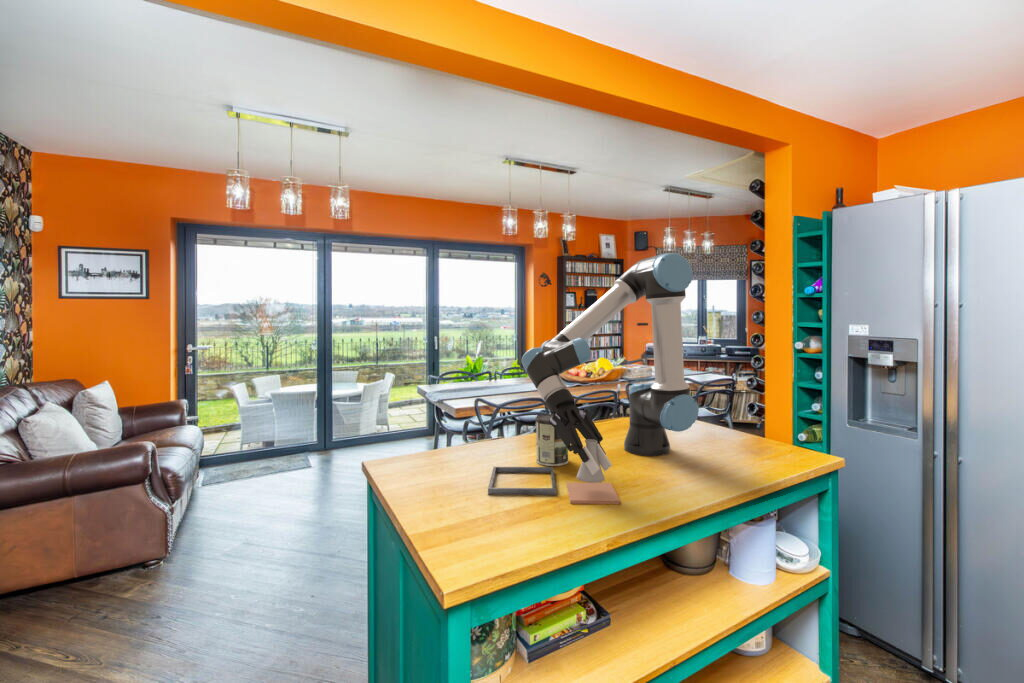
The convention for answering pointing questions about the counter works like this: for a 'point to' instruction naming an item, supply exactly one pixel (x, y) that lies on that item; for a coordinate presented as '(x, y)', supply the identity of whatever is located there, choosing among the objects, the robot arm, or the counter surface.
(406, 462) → the counter surface
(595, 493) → the terracotta tile
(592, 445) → the flask
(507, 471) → the steel frame
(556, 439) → the coffee can
